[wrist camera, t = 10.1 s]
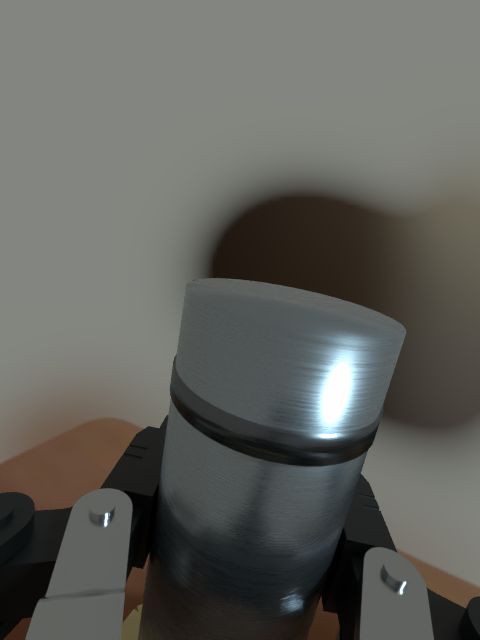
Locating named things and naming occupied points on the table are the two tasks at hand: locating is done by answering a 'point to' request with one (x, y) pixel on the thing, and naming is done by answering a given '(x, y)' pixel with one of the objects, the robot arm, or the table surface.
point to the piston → (261, 457)
